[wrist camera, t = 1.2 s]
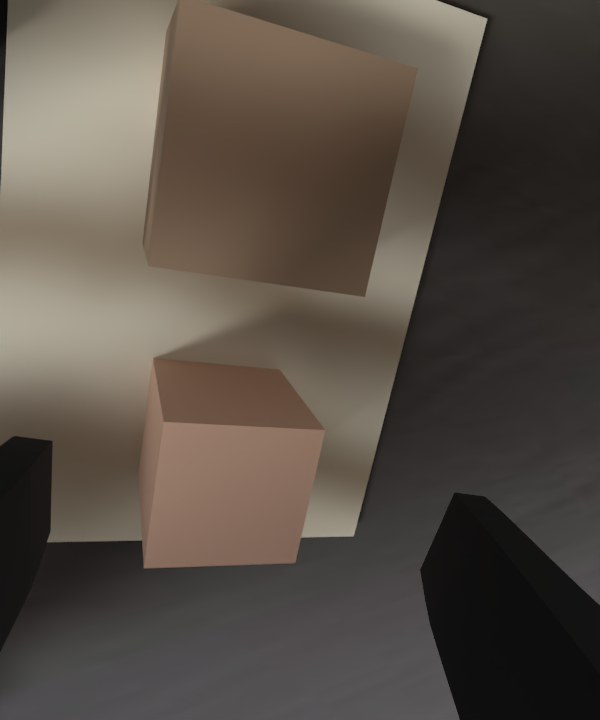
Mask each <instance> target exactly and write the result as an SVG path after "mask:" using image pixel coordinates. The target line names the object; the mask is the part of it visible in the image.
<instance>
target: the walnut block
mask: <svg viewBox="0 0 600 720" xmlns="http://www.w3.org/2000/svg"><path fill="white" fill-rule="evenodd" d="M417 70H418V68H415V67H412V66H409V65H406V64H403V63H399V62H396V61H393V60H390V59H386V58H383V57H380V56H377V55H373V54H370V53H367V52H364V51H361V50H357V49H354V48H351V47H348V46H344V45H341V44H338V43H335V42H331V41H328V40H325V39H322V38H319V37H315V36H312V35H309V34H306V33H302V32H299V31H296V30H293V29H289V28H286V27H283V26H280V25H277V24H273V23H270V22H267V21H264V20H260V19H257V18H254V17H251V16H247V15H244V14H241V13H238V12H235V11H231V10H228V9H225V8H222V7H218V6H215V5H212V4H209V3H206V2H202V1H199V0H178V2H177V4H176V7H175V10H174V12H173V15H172V18H171V20H170V23H169V25H168V28H167V31H166V37H165V46H164V55H163V64H162V73H161V82H160V91H159V100H158V109H157V118H156V127H155V135H154V144H153V153H152V162H151V171H150V180H149V189H148V198H147V207H146V216H145V224H144V233H143V242H142V244H143V248H144V251H145V255H146V259H147V262H148V266H151V267H158V268H165V269H172V270H179V271H186V272H193V273H200V274H207V275H214V276H221V277H228V278H235V279H242V280H249V281H256V282H263V283H270V284H277V285H284V286H291V287H298V288H305V289H312V290H319V291H326V292H333V293H340V294H347V295H354V296H361V297H365V295H366V290H367V286H368V282H369V277H370V273H371V269H372V264H373V260H374V256H375V251H376V247H377V243H378V238H379V234H380V230H381V225H382V221H383V217H384V213H385V208H386V204H387V200H388V195H389V191H390V187H391V182H392V178H393V174H394V169H395V165H396V161H397V156H398V152H399V148H400V144H401V139H402V135H403V131H404V126H405V122H406V118H407V113H408V109H409V105H410V100H411V96H412V92H413V87H414V83H415V79H416V74H417Z"/></svg>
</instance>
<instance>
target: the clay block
mask: <svg viewBox="0 0 600 720" xmlns="http://www.w3.org/2000/svg"><path fill="white" fill-rule="evenodd" d="M324 434H325V429H324V428H323V426H322V425H321V424H320V422H319V421H318V420H317V418H316V417H315V416H314V414H313V413H312V412H311V410H310V409H309V408H308V406H307V405H306V404H305V402H304V401H303V400H302V399H301V397H300V396H299V395H298V393H297V392H296V391H295V389H294V388H293V387H292V385H291V384H290V383H289V381H288V380H287V379H286V377H285V376H284V375H283V373H282V372H281V371H280V369H269V368H258V367H246V366H235V365H224V364H212V363H201V362H190V361H179V360H167V359H156V358H153V361H152V369H151V377H150V385H149V393H148V401H147V409H146V417H145V425H144V433H143V441H142V449H141V457H140V465H139V473H138V481H139V498H140V514H141V531H142V547H143V564H144V568H170V567H198V566H226V565H253V564H281V563H295V562H296V558H297V553H298V549H299V544H300V540H301V536H302V531H303V527H304V522H305V518H306V514H307V509H308V505H309V500H310V496H311V492H312V487H313V483H314V478H315V474H316V470H317V465H318V461H319V456H320V452H321V448H322V443H323V439H324Z"/></svg>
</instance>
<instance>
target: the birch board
mask: <svg viewBox="0 0 600 720" xmlns="http://www.w3.org/2000/svg"><path fill="white" fill-rule="evenodd" d="M199 1H202V2H206V3H209V4H212V5H215V6H218V7H222V8H225V9H228V10H231V11H235V12H238V13H241V14H244V15H247V16H251V17H254V18H257V19H260V20H264V21H267V22H270V23H273V24H277V25H280V26H283V27H286V28H289V29H293V30H296V31H299V32H302V33H306V34H309V35H312V36H315V37H319V38H322V39H325V40H328V41H331V42H335V43H338V44H341V45H344V46H348V47H351V48H354V49H357V50H361V51H364V52H367V53H370V54H373V55H377V56H380V57H383V58H386V59H390V60H393V61H396V62H399V63H403V64H406V65H409V66H412V67H415V68H418V70H417V74H416V79H415V83H414V87H413V92H412V96H411V100H410V105H409V109H408V113H407V118H406V122H405V126H404V131H403V135H402V139H401V144H400V148H399V152H398V156H397V161H396V165H395V169H394V174H393V178H392V182H391V187H390V191H389V195H388V200H387V204H386V208H385V213H384V217H383V221H382V225H381V230H380V234H379V238H378V243H377V247H376V251H375V256H374V260H373V264H372V269H371V273H370V277H369V282H368V286H367V290H366V295H365V297H361V296H354V295H347V294H340V293H333V292H326V291H319V290H312V289H305V288H298V287H291V286H284V285H277V284H270V283H263V282H256V281H249V280H242V279H235V278H228V277H221V276H214V275H207V274H200V273H193V272H186V271H179V270H172V269H165V268H158V267H151V266H148V262H147V259H146V255H145V251H144V248H143V244H142V242H143V233H144V224H145V216H146V207H147V198H148V189H149V180H150V171H151V162H152V153H153V144H154V135H155V127H156V118H157V109H158V100H159V91H160V82H161V73H162V64H163V55H164V46H165V37H166V31H167V28H168V25H169V23H170V20H171V18H172V15H173V12H174V10H175V7H176V4H177V2H178V0H8V15H7V40H6V66H5V92H4V117H3V143H2V168H1V194H0V445H2V444H3V443H4V442H6V441H7V440H9V439H10V438H12V437H13V436H19V437H27V438H34V439H42V440H50V441H53V447H52V490H51V532H50V535H49V538H48V540H47V542H88V541H140V540H142V531H141V514H140V498H139V481H138V473H139V465H140V457H141V449H142V441H143V433H144V425H145V417H146V409H147V401H148V393H149V385H150V377H151V369H152V361H153V358H156V359H167V360H179V361H190V362H201V363H212V364H224V365H235V366H246V367H258V368H269V369H280V371H281V372H282V373H283V375H284V376H285V377H286V379H287V380H288V381H289V383H290V384H291V385H292V387H293V388H294V389H295V391H296V392H297V393H298V395H299V396H300V397H301V399H302V400H303V401H304V402H305V404H306V405H307V406H308V408H309V409H310V410H311V412H312V413H313V414H314V416H315V417H316V418H317V420H318V421H319V422H320V424H321V425H322V426H323V428H324V429H325V434H324V439H323V443H322V448H321V452H320V456H319V461H318V465H317V470H316V474H315V478H314V483H313V487H312V492H311V496H310V500H309V505H308V509H307V514H306V518H305V522H304V527H303V531H302V536H301V537H346V536H354V533H355V530H356V526H357V522H358V518H359V514H360V510H361V506H362V502H363V499H364V495H365V491H366V487H367V483H368V479H369V475H370V471H371V468H372V464H373V460H374V456H375V452H376V448H377V444H378V440H379V437H380V433H381V429H382V425H383V421H384V417H385V413H386V409H387V406H388V402H389V398H390V394H391V390H392V386H393V382H394V379H395V375H396V371H397V367H398V363H399V359H400V355H401V351H402V348H403V344H404V340H405V336H406V332H407V328H408V324H409V320H410V317H411V313H412V309H413V305H414V301H415V297H416V293H417V289H418V286H419V282H420V278H421V274H422V270H423V266H424V262H425V258H426V255H427V251H428V247H429V243H430V239H431V235H432V231H433V227H434V224H435V220H436V216H437V212H438V208H439V204H440V200H441V197H442V193H443V189H444V185H445V181H446V177H447V173H448V169H449V166H450V162H451V158H452V154H453V150H454V146H455V142H456V138H457V135H458V131H459V127H460V123H461V119H462V115H463V111H464V107H465V104H466V100H467V96H468V92H469V88H470V84H471V80H472V76H473V73H474V69H475V65H476V61H477V57H478V53H479V49H480V45H481V42H482V38H483V34H484V30H485V26H486V22H487V18H484V17H481V16H478V15H476V14H473V13H470V12H467V11H465V10H462V9H459V8H456V7H453V6H451V5H448V4H445V3H442V2H440V1H437V0H199Z"/></svg>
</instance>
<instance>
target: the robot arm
mask: <svg viewBox="0 0 600 720" xmlns="http://www.w3.org/2000/svg"><path fill="white" fill-rule="evenodd" d="M52 447H53V441H50V440H42V439H34V438H27V437H19V436H13V437H12V438H10V439H9V440H7V441H6V442H4V443H3V444H2V445H0V651H1V649H2V647H3V645H4V643H5V641H6V639H7V637H8V635H9V633H10V630H11V628H12V626H13V624H14V622H15V620H16V618H17V616H18V614H19V612H20V610H21V608H22V606H23V603H24V601H25V599H26V597H27V595H28V593H29V591H30V589H31V586H32V583H33V580H34V578H35V575H36V572H37V569H38V567H39V564H40V561H41V558H42V555H43V552H44V549H45V546H46V543H47V540H48V538H49V535H50V532H51V490H52ZM420 571H421V577H422V583H423V589H424V595H425V601H426V606H427V611H428V616H429V621H430V625H431V629H432V632H433V635H434V639H435V642H436V645H437V648H438V652H439V655H440V658H441V661H442V665H443V668H444V671H445V674H446V677H447V680H448V684H449V687H450V690H451V693H452V696H453V699H454V702H455V705H456V709H457V712H458V715H459V718H460V720H600V605H599V604H598V603H597V602H595V601H594V600H593V599H592V598H591V597H590V596H589V595H588V594H587V593H586V592H585V591H584V590H582V589H581V588H580V587H579V586H578V585H577V584H576V583H575V582H574V581H573V580H572V579H571V578H570V577H569V576H568V575H567V574H566V573H565V572H564V571H563V570H561V569H560V568H559V567H558V566H557V565H556V564H555V563H554V562H553V561H552V560H551V559H550V558H549V557H548V556H547V555H546V554H545V553H544V552H543V551H542V550H541V549H540V548H539V547H538V546H537V545H536V544H535V543H534V542H533V541H532V540H531V539H530V538H529V537H528V536H527V535H526V534H525V533H523V532H522V531H521V530H520V529H519V528H518V527H517V526H516V525H515V524H514V523H513V522H512V521H511V520H510V519H509V518H508V517H507V516H506V515H505V514H504V513H503V512H502V511H500V510H499V509H498V508H497V507H496V506H495V505H494V504H493V503H492V502H490V501H489V500H488V499H487V498H486V497H484V496H476V495H469V494H461V493H454V495H453V497H452V500H451V502H450V504H449V506H448V509H447V511H446V513H445V515H444V518H443V520H442V522H441V524H440V527H439V529H438V531H437V533H436V536H435V538H434V540H433V542H432V545H431V547H430V549H429V551H428V554H427V556H426V558H425V561H424V563H423V565H422V567H421V570H420Z"/></svg>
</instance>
